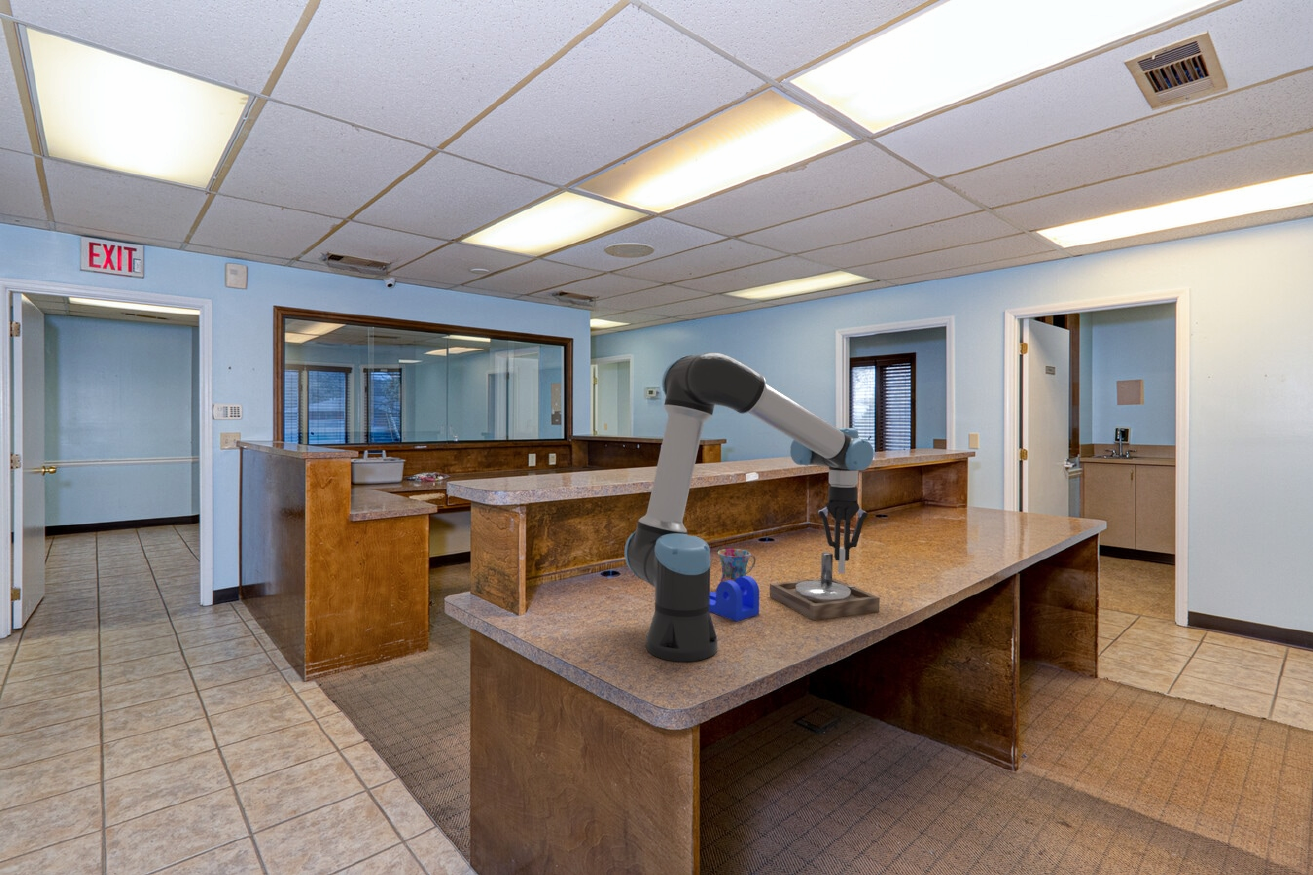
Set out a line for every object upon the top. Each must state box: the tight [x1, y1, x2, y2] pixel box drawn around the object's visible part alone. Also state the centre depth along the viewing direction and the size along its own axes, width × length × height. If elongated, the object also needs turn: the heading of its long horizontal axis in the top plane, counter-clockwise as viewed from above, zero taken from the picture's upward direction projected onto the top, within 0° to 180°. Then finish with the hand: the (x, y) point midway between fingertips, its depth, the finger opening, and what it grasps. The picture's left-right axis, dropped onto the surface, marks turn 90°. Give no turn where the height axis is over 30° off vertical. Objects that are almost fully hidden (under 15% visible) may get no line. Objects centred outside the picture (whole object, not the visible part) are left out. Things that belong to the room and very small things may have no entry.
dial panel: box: [769, 577, 881, 621], centre depth 160 cm, size 20×20×4 cm
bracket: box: [709, 575, 760, 622], centre depth 156 cm, size 18×8×9 cm, turn 40°
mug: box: [717, 548, 757, 583], centre depth 173 cm, size 12×9×11 cm
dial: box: [796, 552, 851, 603], centre depth 160 cm, size 14×14×10 cm
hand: (841, 572), depth 164 cm, fingers closed
